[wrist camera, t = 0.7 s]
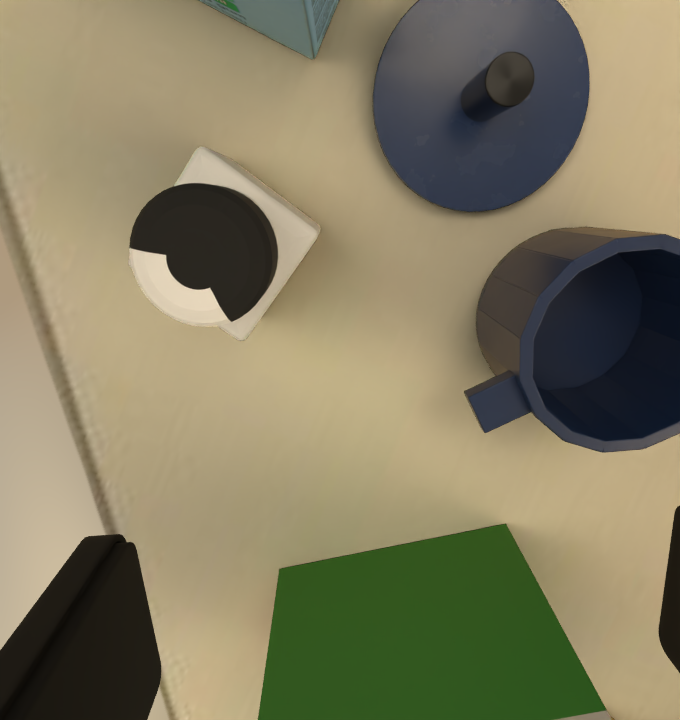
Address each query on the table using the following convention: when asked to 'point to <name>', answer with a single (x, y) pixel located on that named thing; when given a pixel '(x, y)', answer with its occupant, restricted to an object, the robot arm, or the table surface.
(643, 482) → the table surface
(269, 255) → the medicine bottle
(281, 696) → the hardback book
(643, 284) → the pot
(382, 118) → the lid
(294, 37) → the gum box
